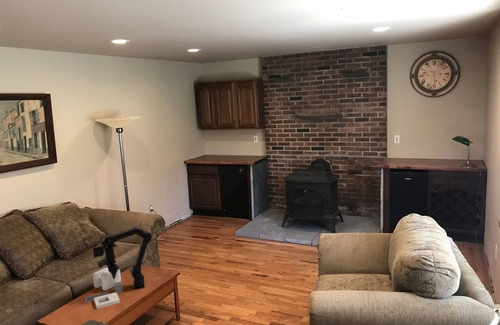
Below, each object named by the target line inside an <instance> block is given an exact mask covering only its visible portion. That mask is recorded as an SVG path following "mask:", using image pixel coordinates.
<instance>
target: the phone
mask: <svg viewBox="0 0 500 325" xmlns="http://www.w3.org/2000/svg"><path fill="white" fill-rule="evenodd" d="M108 294H109V293H108V292H107V291H106V292H105V291H104V292H102V293H97V294H93V295H89V296H85V297H84V301H85V303H89V302H94V298H96V297H100V296H104V295H108Z"/></svg>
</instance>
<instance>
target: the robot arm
mask: <svg viewBox="0 0 500 325" xmlns="http://www.w3.org/2000/svg"><path fill="white" fill-rule="evenodd" d="M135 235H137V236H139V237H140V246H139V248H138V252H137V254H136V257H135V258H136V259H135V260H134V261H135V262H134V263H133V264H131V265H130V269H129V273H130V276H131V277H132V278H133V281H132V285H133V288H134V289H135V290H139V289H143V288H146V285H145V276H144V274H143V272H142V263H143V261H144V257H145V253H146V250H147V248H148V245H149V244H150V243H151V240H152V238H153V236H152V235H153V234H152V233H151V232H149V231H148V230H144V229H141V228H138V227H137V226H134V227H132V228H130V229H126V230H123V231H120V232H118V233H110V234H105V235H104V236H103V237H102V241H101V242H100V245H99V246H97V245H96V246H92V247H91V248H92V251H91V252H92V258H93V259H95V258H99V257H103V256H104V257H103V258H102V259H100V260H98V261H97V262H96V264H97V266H98V267H99V269H102V268H103V267H104V266H107V267H108V271H109V272H110V273H111V274H112V277H113V279H115V277H116V274H117V271H118V269H119V265H118V264H117V260H116V255H115V248H116V247H117V244H116V242H118V241H119V240H120V241H121V240H123V239H126V238H128V237H131V236H135ZM119 270H120V269H119Z"/></svg>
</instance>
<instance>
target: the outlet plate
mask: <svg viewBox="0 0 500 325" xmlns="http://www.w3.org/2000/svg"><path fill="white" fill-rule="evenodd" d="M107 294H108V295H104V296H100V297H96V298H94V301H93V302H94V304H95V308H96V310H98V309H101V308H106V307H109V306H113V305H118V304H121V299H120V297H119V296H118V294H117V293H115V292H112V293H107Z"/></svg>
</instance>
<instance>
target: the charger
mask: <svg viewBox="0 0 500 325" xmlns="http://www.w3.org/2000/svg"><path fill="white" fill-rule="evenodd" d="M113 288H114V289H113V291H114V293H117V295H118V294H119V295H120V294H122V293H123V284H122V281H121V282H117V283H114V287H113Z"/></svg>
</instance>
